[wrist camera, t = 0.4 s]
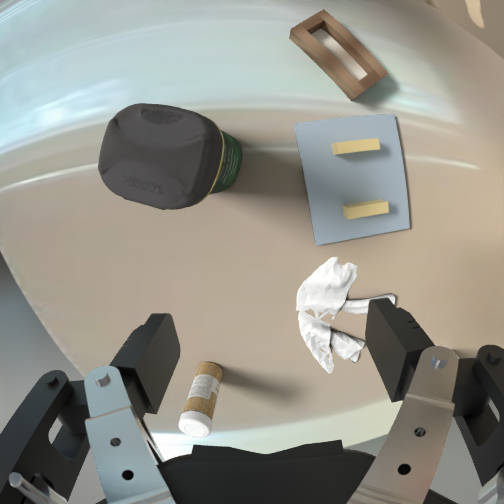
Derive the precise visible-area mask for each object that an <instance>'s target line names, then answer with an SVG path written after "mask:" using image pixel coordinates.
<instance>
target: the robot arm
mask: <svg viewBox="0 0 504 504" xmlns="http://www.w3.org/2000/svg"><path fill="white" fill-rule="evenodd" d="M365 338H366V344H367V347H368V349H369V352H370V354H371V356H372V358H373V360H374V363H375V365H376V367H377V369H378V371H379V374H380V376H381V378H382V380H383V383H384V385H385V387H386V390H387V392H388V394H389V397H390V399H391V402H397V401H401V400H403V403H402V405H401V408H400V410H399V412H398V414H397V417H396V419H395V421H394V423H393V425H392V427H391V429H390V432H389V434H388V436H387V438H386V440H385V442H384V444H383V445H382V447H381V449H380V451H379V453H378V455H377V457H375V456H373V455H371V454H368V453H365V452H361V451H357V450H350V449H343V445H342V440H335V441H328V442H321V443H312V444H304V445H301V446H297V447H294V448H290V449H287V450H283V451H279V452H275V453H271V454H260V453H255V452H250V451H245V450H240V449H236V448H232V447H222V446H205V445H193V449H192V453H191V454H187V455H182V456H178V457H175V458H172V459H169V460H167V461H165V460H164V458H163V457H162V455H161V453H160V451H159V449H158V447H157V445H156V443H155V441H154V439H153V437H152V435H151V433H150V431H149V429H148V427H147V425H146V423H145V421H144V419H143V417H144V415H145V413H151V414H157V412H158V409H159V407H160V404H161V402H162V399H163V397H164V394H165V392H166V389H167V387H168V384H169V382H170V380H171V377H172V375H173V372H174V370H175V367H176V365H177V363H178V360H179V357H180V344H179V340H178V337H177V333H176V329H175V326H174V322H173V318H172V316H171V314H169V313H155V314H151V316H150V317H149V318H148V320H147V321H146V323H145V324H144V325H141V326H139V327H138V328H137V329H135V330H134V331H133V332H132V333H131V334H130V336H129V337H128V339H127V340H126V342H125V343H124V344H123V347H121V349H120V350H119V352H118V353H117V354H116V356H115V357H114V359H113V360H112V362H111V363H110V365H109V366H101V367H98V368H95V369H93V370H92V371H91V372H89V373H88V374H87V376H86V377H85V380H82V381H81V380H80V381H69V379H68V377H67V376H66V374H65V373H64V372H63V371H60V370H54V371H50V372H48V373H46V374H44V375H43V376H42V377H41V378H40V379H39V380H38V382H37V383H36V384H35V386H34V387H33V388H32V390H31V391H30V393H29V394H28V395H27V396H26V398H25V399H24V401H23V402H22V403H21V405H20V406H19V407H18V409H17V410H16V412H15V413H14V415H13V416H12V418H11V419H10V420H9V422H8V423H7V425H6V426H5V428H4V430H3V431H2V433H1V434H0V504H68V500H69V497H70V495H71V492H72V489H73V487H74V484H75V482H76V480H77V477H78V475H79V472H80V470H81V468H82V465H83V463H84V460H85V458H86V456H87V453H88V451H89V449H90V447H91V451H92V455H93V459H94V462H95V466H96V470H97V473H98V476H99V479H100V483H101V486H102V489H103V491H104V494H105V497H106V498H105V499H103V500H101V501H100V502H98V503H96V504H457V503H456V502H454V501H452V500H450V499H448V498H446V497H444V496H442V495H440V494H438V493H436V492H435V491H433V490H431V489H429V488H430V485H431V483H432V480H433V477H434V475H435V472H436V470H437V467H438V464H439V461H440V458H441V455H442V452H443V449H444V446H445V442H446V439H447V435H448V432H449V428H450V424H451V420H452V417H454V418H455V420H456V422H457V425H458V427H459V429H460V431H461V433H462V436H463V438H464V440H465V443H466V445H467V448H468V450H469V452H470V455H471V457H472V460H473V463H474V465H475V468H476V471H477V473H478V476H479V479H480V482H481V485H482V489H481V490H480V493H479V496H478V503H477V504H504V349H503V348H501V347H499V346H496V345H485V346H483V347H481V348H480V349H479V351H478V353H477V356H476V358H467V359H458V357H457V355H456V354H455V353H454V352H453V351H452V350H450V349H448V348H446V347H442V346H435V345H434V343H433V342H432V341H431V339H430V338H429V337H428V335H427V334H426V333H425V332H424V330H423V329H422V328H420V325H419V324H418V323H417V322H416V320H415V319H414V318H413V316H412V315H411V314H410V313H409V312H407V311H406V310H404V309H402V308H401V307H400V308H396V307H395V305H394V304H393V303H392V301H391V300H390V299H389V298H388V297H386V298H378V299H371V300H370V301H369V304H368V314H367V323H366V332H365ZM491 399H492V401H493V403H494V404H495V406H496V408H497V410H498V412H499V415H500V420H499V422H498V420H497V418H496V416H495V415H494V413H493V411H492V409H491V408H490V406H489V402H490V400H491ZM56 418H58V419H59V420H60V421H61V423H62V424H63V425H62V427H61V429H60V430H59V432H58V434H57V436H56V438H55V440H54V441H53V443H52V444H51V443H50V441H49V438H48V434H49V430H50V428H51V427H52V425H53V423H54V421H55V420H56Z"/></svg>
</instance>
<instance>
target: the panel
mask: <svg viewBox="0 0 504 504" xmlns="http://www.w3.org/2000/svg"><path fill="white" fill-rule="evenodd" d="M293 126H294V130H295V135H296V139H297V144H298V149H299V154H300V159H301V164H302V169H303V174H304V179H305V185H306V190H307V196H308V201H309V207H310V213H311V219H312V225H313V232H314V238H315V244H316V246H317V245H322V244H328V243H333V242H339V241H344V240H349V239H355V238H360V237H365V236H371V235H376V234H381V233H387V232H392V231H397V230H403V229H408V228H410V224H409V210H408V199H407V189H406V180H405V173H404V165H403V159H402V153H401V147H400V141H399V136H398V130H397V126H396V121H395V116H394V114H380V115H365V116H352V117H342V118H333V119H324V120H316V121H309V122H302V123H296V124H293Z"/></svg>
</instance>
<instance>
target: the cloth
mask: <svg viewBox="0 0 504 504" xmlns="http://www.w3.org/2000/svg"><path fill="white" fill-rule="evenodd" d="M356 269H357V266H356V265H354V264H352V263H349V262H348V263H347V264H345V265H341V264H338V257H331V258H330V259H329V260H328V261H327V262H326V263H325V264H323V265H321V266H320V267H319V268H318V270H316V271H315V272H314V273H313V274H312V275H311V276H310V277H308V280H305V281H304V283H303V284H302V286H301V287H300V288H299V291H298V292H297V307H296V311H300V313H299V314H298V315H299V318H298V321H300V323H299V325H300V331H301V335H302V337H303V338H304V341H305V342H306V345H307V346H308V347H309V348H310V350H311V352H312V354H313V356H314V357H315V358H316V359H317V361H319V363H320V364H321V366H322V367H323V368H324V369H325V370H326V371H327V372H328V373H329V374H330V373H331V372H332V370H333V367H334V364H333V363H332V354H331V349H330V346H329V344H330V345H331V346H332V347H333V349H334V350H335V351H336V353H337V354H338V355H339V356H340V357H341V358H343V359H344V360H346V359H349V358H350V359H351V360H352V361H353V362H354V363H356V361H357V359H358V356H359V353H360V350H361V349H362V348H363V346H364V344H365V342H363V341H362V340H360V339H358V338H355V337H351V336H347V335H346V334H344V333H342V332H339V331H334V330H330V325H331V324H328V323H326V322H323V321H321V320H320V318H322V317H323V316H324V315H326V314H327V313H330V314H333V315H336V314H337V312H338V311H339V309H341V310H344V311H346V312H349V313H354V314H368V304H369V301H370V300H371V299H378V298H386V297H388V298H389V299H390V300H391V301H392V303H393V304H394V305H395V297H394V295H393V294H392V293H390V294H385V295H382V296H378V297H374V298H370V299H346V296H347V292H348V290H349V288H350V286H351V284H352V283H353V282H354V280H355V278H356V277H357V274H356ZM305 289H306V291H305ZM308 309H312V310H313V311H314V312H315V317H316V318H315V317H313V316H311V315H308V314H306V313H305V311H306V310H308ZM319 312H323V314H322V315H321V316H320V317H319V318H318V316H319ZM332 318H333V320H334V318H335V316H333V317H332ZM321 348H322V349H323V350H324V351H325V352H326V353H325V352H322V351H321V350H320V349H321ZM328 354H329V355H330V357H329V360H328V358H327V355H328Z"/></svg>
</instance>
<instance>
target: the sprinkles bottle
mask: <svg viewBox="0 0 504 504" xmlns="http://www.w3.org/2000/svg"><path fill="white" fill-rule="evenodd" d="M222 376H223V372H222V369H221V368H220V367H219V366H218V365H216V364H214V363H210V362H205V363H202V364H200V365H199V366H198V368H197V374H196V377H195V379H194V381H193V384H192V387H191V390H190V393H189V396H188V399H187V403H186V407H185V409H184V412H183V414H182V415H181V418H180V421H179V428H180V429H181V431H183V432H184V433H185V434H187V435H189V436H192V437H198V438H201V437H206V436H208V435H209V434H210V432H211V428H212V417H213V413H214V408H215V405H216V401H217V397H218V392H219V388H220V381H221V378H222Z"/></svg>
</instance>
